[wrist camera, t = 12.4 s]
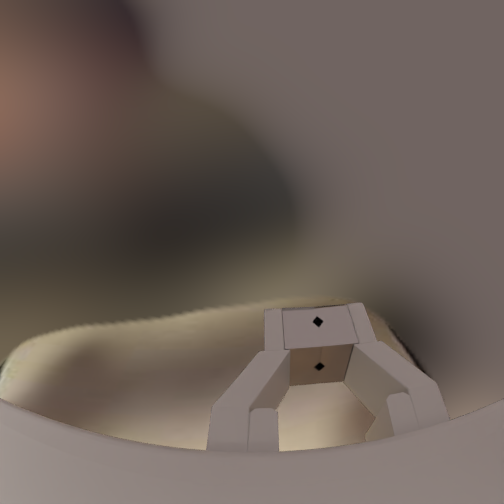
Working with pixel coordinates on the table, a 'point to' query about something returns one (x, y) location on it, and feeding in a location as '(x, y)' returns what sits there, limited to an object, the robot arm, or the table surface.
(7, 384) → the table surface
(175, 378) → the table surface
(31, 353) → the table surface
